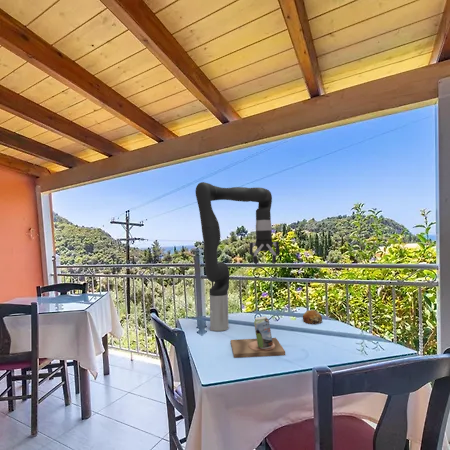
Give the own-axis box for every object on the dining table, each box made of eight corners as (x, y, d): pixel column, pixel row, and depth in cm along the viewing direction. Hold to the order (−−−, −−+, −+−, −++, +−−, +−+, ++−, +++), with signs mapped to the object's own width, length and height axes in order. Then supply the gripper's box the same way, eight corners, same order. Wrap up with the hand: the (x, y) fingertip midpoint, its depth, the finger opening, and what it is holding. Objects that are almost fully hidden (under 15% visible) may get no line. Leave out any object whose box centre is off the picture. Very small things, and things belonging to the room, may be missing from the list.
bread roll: (322, 327, 164) (322, 312, 168) (321, 324, 156) (321, 308, 159) (303, 326, 167) (303, 311, 171) (301, 323, 159) (301, 307, 162)
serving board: (234, 357, 118) (233, 353, 118) (230, 343, 134) (230, 339, 134) (285, 355, 119) (285, 350, 119) (276, 341, 135) (275, 337, 135)
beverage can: (270, 351, 118) (269, 320, 119) (252, 348, 121) (251, 318, 122) (274, 346, 124) (273, 316, 124) (257, 343, 127) (256, 314, 128)
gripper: (276, 229, 151) (277, 262, 150) (247, 230, 150) (248, 263, 149) (280, 229, 143) (281, 264, 142) (250, 230, 142) (251, 265, 142)
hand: (264, 263), depth 146 cm, fingers open, 8 cm apart
